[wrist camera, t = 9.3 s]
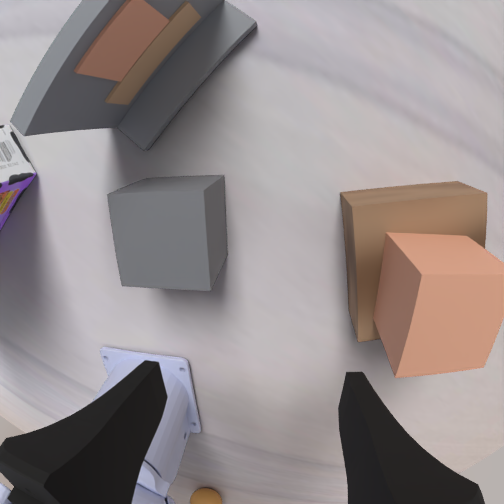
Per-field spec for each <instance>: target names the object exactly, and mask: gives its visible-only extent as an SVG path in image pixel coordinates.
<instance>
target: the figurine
mask: <svg viewBox="0 0 504 504" xmlns="http://www.w3.org/2000/svg"><path fill="white" fill-rule="evenodd" d="M190 504H222V499H221V496H220V495H219V494H218V493H217V492H216V491H214V490H212V489H209V488H202V489H198V490H196V491H195V492H194V493H193V494H192V496H191V499H190Z"/></svg>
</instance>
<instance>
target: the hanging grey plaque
mask: <svg viewBox="0 0 504 504" xmlns="http://www.w3.org/2000/svg"><path fill="white" fill-rule="evenodd" d="M256 26H257V23H256V21H255V20H254V19H252V18H251V17H249V16H248V15H246V14H245V13H244V12H242V11H241V10H239V9H238V8H236V7H235V6H233V5H232V4H230V3H228V2H227V1H225V0H82V2H81V3H80V4H79V6H78V7H77V8H76V10H75V11H74V12H73V14H72V15H71V16H70V18H69V19H68V21H67V22H66V23H65V25H64V26H63V28H62V29H61V31H60V32H59V34H58V35H57V37H56V38H55V40H54V41H53V43H52V44H51V46H50V47H49V49H48V51H47V52H46V54H45V55H44V57H43V59H42V60H41V62H40V64H39V66H38V67H37V69H36V71H35V73H34V74H33V76H32V78H31V80H30V82H29V83H28V85H27V87H26V89H25V91H24V93H23V95H22V97H21V99H20V101H19V103H18V105H17V107H16V109H15V112H14V114H13V116H12V118H11V120H10V122H11V123H12V124H13V125H14V126H15V127H16V128H17V130H18V131H19V132H20V133H21V134H22V135H23V136H29V135H37V134H45V133H54V132H63V131H74V130H86V129H100V128H118V129H119V130H120V131H121V132H122V133H124V134H125V135H126V136H127V137H128V138H129V139H131V140H132V141H133V142H134V143H135V144H136V145H137V146H139V147H140V148H141V149H142V150H143V151H145V150H149V149H150V148H151V146H152V145H153V143H154V142H155V141H156V139H157V138H158V137H159V136H160V134H161V133H162V132H163V130H164V129H165V128H166V126H167V125H168V124H169V123H170V121H171V120H172V119H173V118H174V116H175V115H176V114H177V113H178V111H179V110H180V109H181V108H182V106H183V105H184V104H185V103H186V102H187V100H188V99H189V98H190V97H191V96H192V95H193V93H194V92H195V91H196V90H197V89H198V88H199V86H200V85H201V84H202V83H203V82H204V81H205V80H206V78H207V77H208V76H209V75H210V74H211V73H212V72H213V71H214V69H215V68H216V67H217V66H218V65H219V64H220V63H221V62H222V61H223V60H224V59H225V58H226V57H227V55H228V54H229V53H230V52H231V51H232V50H233V49H234V48H235V47H236V46H237V45H238V44H239V43H240V42H241V41H242V40H243V39H244V38H245V37H246V36H247V35H248V34H249V33H250V32H251V31H252V30H253V29H254V28H255V27H256Z"/></svg>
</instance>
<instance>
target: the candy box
mask: <svg viewBox="0 0 504 504" xmlns="http://www.w3.org/2000/svg"><path fill="white" fill-rule="evenodd" d="M36 174H37V173H36V172H35V170H34V169H33V167H32V165H31V163H30V161H29V160H28V158H27V156H26V155H25V153H24V151H23V150H22V148H21V146H20V144H19V142H18V140H17V138H16V136H15V134H14V133H13V131H12V129H11V127H10V126H9V125H1V126H0V230H1V228H2V226H3V225H4V223H5V221H6V219H7V218H8V216H9V214H10V213H11V211H12V210H13V208H14V206H15V205H16V203H17V201H18V200H19V198H20V197H21V195H22V194H23V192H24V191H25V190H26V188H27V187H28V185H29V184H30V182H31V181H32V180H33V178H34V177H35V175H36Z"/></svg>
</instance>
